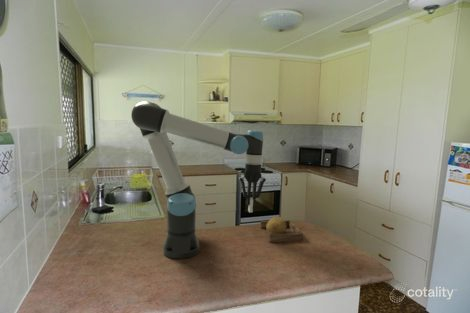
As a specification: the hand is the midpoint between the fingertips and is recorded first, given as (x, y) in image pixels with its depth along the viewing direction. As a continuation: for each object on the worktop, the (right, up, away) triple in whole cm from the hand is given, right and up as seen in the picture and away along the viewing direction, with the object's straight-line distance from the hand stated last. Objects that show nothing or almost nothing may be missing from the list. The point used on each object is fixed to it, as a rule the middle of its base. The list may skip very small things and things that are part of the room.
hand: (250, 211), depth 137 cm
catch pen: (+15, -12, +4) cm, 20 cm away
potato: (+13, -12, +4) cm, 18 cm away
